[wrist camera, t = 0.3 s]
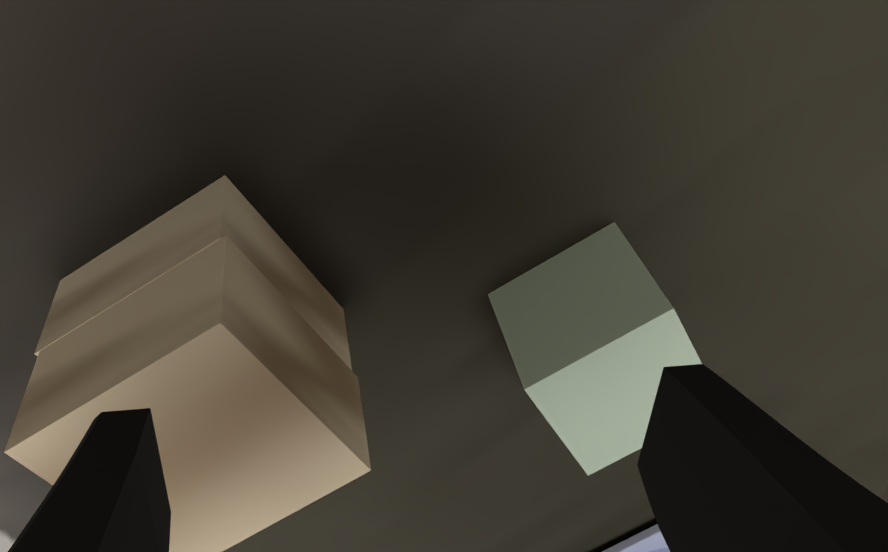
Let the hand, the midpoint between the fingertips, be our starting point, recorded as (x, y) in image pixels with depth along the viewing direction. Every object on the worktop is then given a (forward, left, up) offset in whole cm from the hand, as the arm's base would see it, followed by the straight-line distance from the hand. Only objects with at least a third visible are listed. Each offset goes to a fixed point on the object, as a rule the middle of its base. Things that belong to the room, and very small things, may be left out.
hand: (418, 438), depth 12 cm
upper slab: (-1, +5, -7) cm, 9 cm away
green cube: (-8, -3, -10) cm, 13 cm away
